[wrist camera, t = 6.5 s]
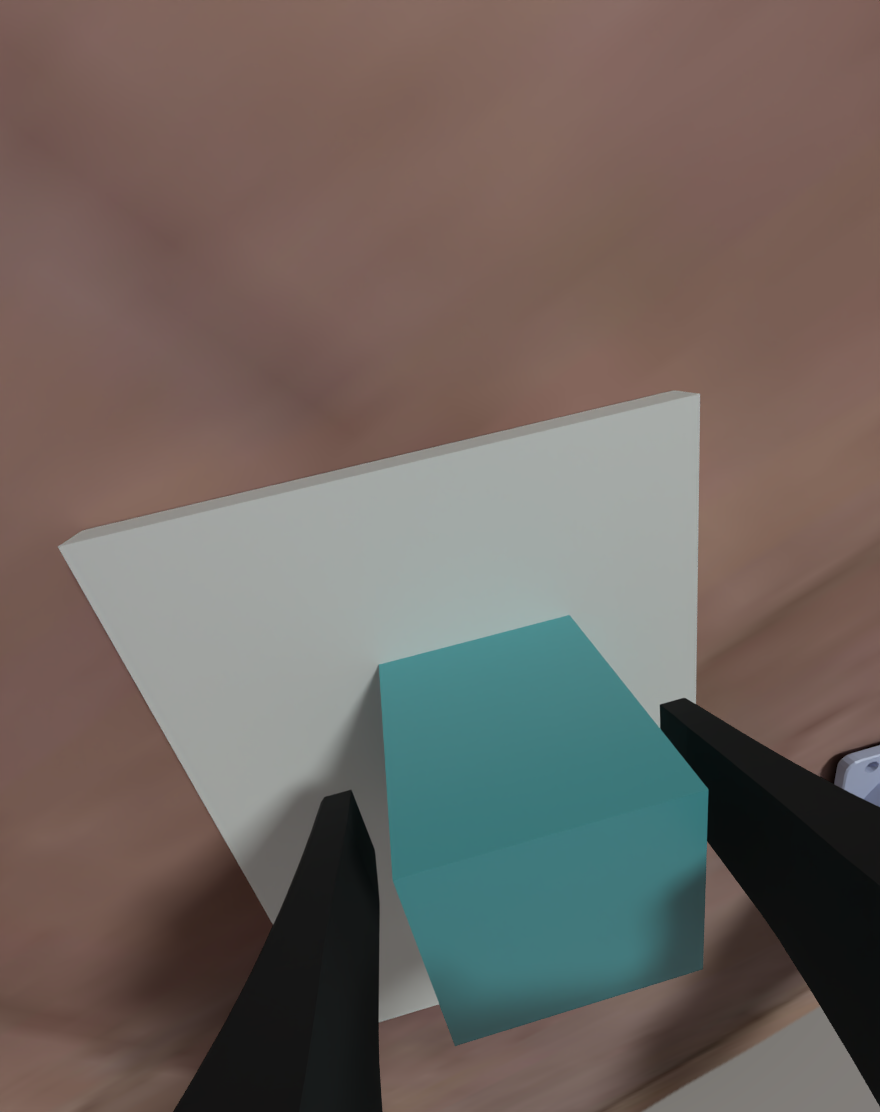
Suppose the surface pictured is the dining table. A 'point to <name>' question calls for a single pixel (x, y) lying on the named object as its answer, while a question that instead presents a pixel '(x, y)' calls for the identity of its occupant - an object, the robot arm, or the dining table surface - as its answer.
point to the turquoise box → (538, 828)
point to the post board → (392, 613)
